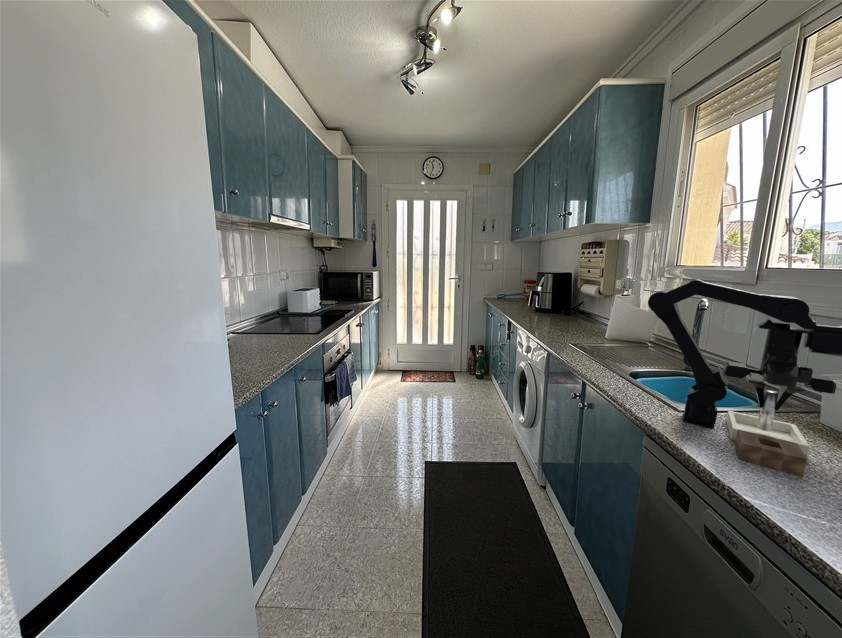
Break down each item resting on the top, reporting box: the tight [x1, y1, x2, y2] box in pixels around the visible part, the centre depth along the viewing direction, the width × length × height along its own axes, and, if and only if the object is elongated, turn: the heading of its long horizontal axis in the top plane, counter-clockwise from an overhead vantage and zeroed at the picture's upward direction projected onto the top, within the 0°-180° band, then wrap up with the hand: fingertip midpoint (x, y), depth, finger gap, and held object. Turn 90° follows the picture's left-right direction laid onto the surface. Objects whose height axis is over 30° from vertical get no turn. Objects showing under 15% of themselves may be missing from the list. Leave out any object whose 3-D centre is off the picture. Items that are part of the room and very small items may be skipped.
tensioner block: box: [734, 429, 808, 478], centre depth 77 cm, size 10×8×4 cm
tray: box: [725, 410, 810, 459], centre depth 87 cm, size 13×13×3 cm
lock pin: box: [757, 389, 779, 431], centre depth 86 cm, size 2×2×10 cm
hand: (768, 408), depth 86 cm, fingers closed on lock pin, 2 cm apart
